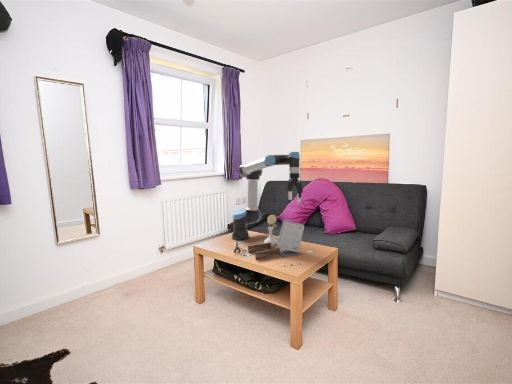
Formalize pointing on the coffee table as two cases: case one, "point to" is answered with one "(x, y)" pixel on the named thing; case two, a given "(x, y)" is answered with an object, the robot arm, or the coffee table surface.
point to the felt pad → (288, 253)
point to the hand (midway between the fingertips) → (294, 200)
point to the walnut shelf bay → (264, 254)
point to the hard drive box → (290, 236)
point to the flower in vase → (271, 220)
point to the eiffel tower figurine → (239, 249)
